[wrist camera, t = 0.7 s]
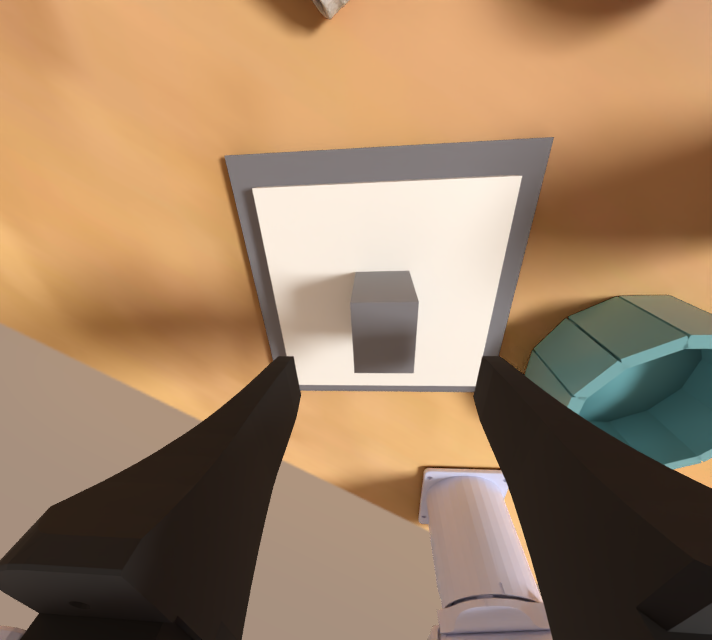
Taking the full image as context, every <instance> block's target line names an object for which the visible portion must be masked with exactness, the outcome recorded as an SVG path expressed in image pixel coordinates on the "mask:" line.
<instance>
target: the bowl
mask: <svg viewBox="0 0 712 640" xmlns="http://www.w3.org/2000/svg"><path fill="white" fill-rule="evenodd" d="M568 318H569V319H567V318H565V319H564V320H563V321H562V322H561V323H560V324H559V325H558V326H557V327H556V328H555V329H554V330H553V331H552V332H551V333H549V334H548V335H547V336H546V337H545V338H544V339H543V340H542V341H541V342H540V343H539V344H538V345H537V346H536V347H535V348H534V350H532V353H531V356H530V359H529V362H528V365H527V369H526V372H525V376H526V377H527V378H529V379H530V380H531V381H532V382H534V383H535V384H536V385H538V386H539V387H540V388H542V389H543V390H544V391H546V392H547V393H548V394H550V395H551V396H552V397H554V398H555V399H557V400H558V401H559V402H561V403H562V404H564V405H565V406H566V407H568V408H569V409H571V410H572V411H574V412H575V413H577V414H578V415H580V416H581V417H583V418H584V419H586V420H587V421H589V422H590V423H592V424H593V425H595V426H597V427H598V428H600V429H602V430H603V431H605V432H607V433H608V434H610V435H611V436H613V437H615V438H616V439H618V440H620V441H621V442H623V443H625V444H627V445H628V446H630V447H632V448H634V449H636V450H637V451H639V452H641V453H643V454H645V455H647V456H648V457H650V458H652V459H654V460H656V461H658V462H660V463H662V464H663V465H665V466H667V467H669V468H671V469H677V468H681V467H685V466H690V465H694V464H698V463H701V461H703V462H705V461H707V460H709V459H710V458H712V314H710V313H708V312H706V311H704V310H701V309H699V308H697V307H695V306H693V305H690V304H688V303H686V302H684V301H682V300H679V299H677V298H675V297H673V296H670V295H637V296H619V297H617V296H616V297H614V298H612V299H609V300H607V301H604V302H602V303H600V304H597V305H595V306H592V307H590V308H588V309H585V310H583V311H580V312H578V313H576V314H573V315H571V316H568Z"/></svg>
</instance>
